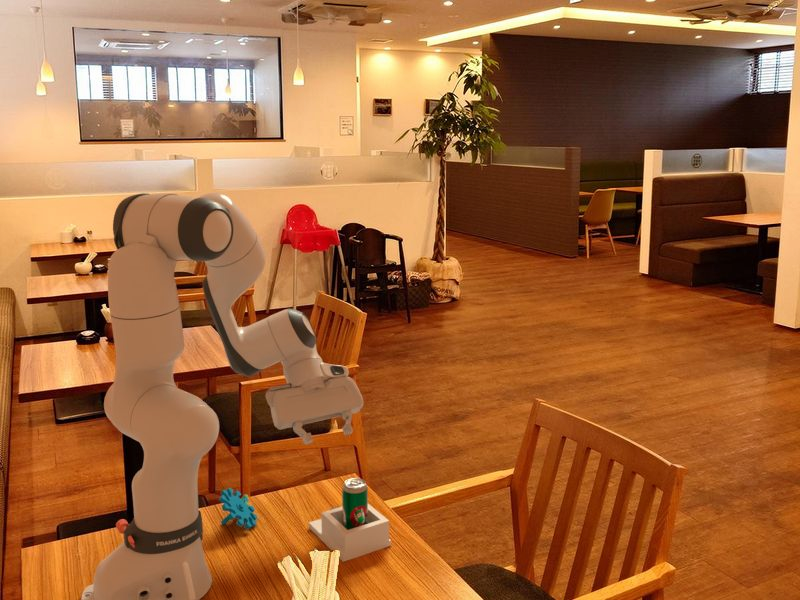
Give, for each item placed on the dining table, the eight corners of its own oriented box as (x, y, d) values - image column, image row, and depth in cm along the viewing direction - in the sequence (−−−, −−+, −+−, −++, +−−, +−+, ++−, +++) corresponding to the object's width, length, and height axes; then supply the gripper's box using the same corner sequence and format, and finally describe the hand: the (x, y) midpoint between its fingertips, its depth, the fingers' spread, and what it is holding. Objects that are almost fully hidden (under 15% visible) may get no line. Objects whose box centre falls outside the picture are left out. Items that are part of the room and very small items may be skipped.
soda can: (345, 529, 159) (345, 476, 156) (369, 531, 158) (369, 478, 155) (340, 542, 154) (339, 487, 151) (364, 544, 153) (364, 490, 150)
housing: (343, 561, 149) (342, 535, 148) (308, 527, 162) (308, 502, 160) (391, 545, 155) (391, 520, 154) (354, 513, 167) (354, 489, 166)
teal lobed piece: (250, 532, 157) (217, 496, 157) (230, 550, 158) (197, 514, 158) (266, 512, 168) (235, 478, 168) (247, 529, 169) (216, 495, 169)
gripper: (266, 381, 159) (287, 442, 153) (353, 365, 169) (376, 421, 164) (259, 395, 163) (279, 455, 158) (343, 378, 174) (365, 434, 168)
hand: (329, 437), depth 161 cm, fingers open, 8 cm apart
